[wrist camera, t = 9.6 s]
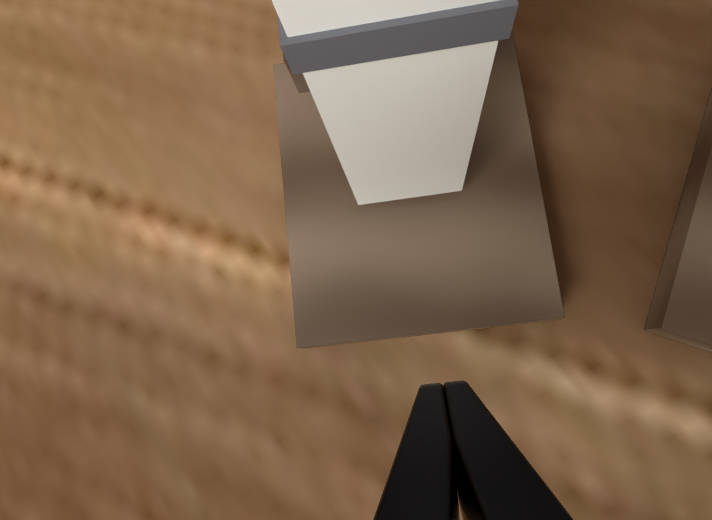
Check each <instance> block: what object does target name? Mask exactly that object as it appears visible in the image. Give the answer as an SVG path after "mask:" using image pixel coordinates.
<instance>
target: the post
mask: <svg viewBox="0 0 712 520" xmlns="http://www.w3.org/2000/svg"><path fill="white" fill-rule="evenodd" d="M272 2H273V4H274V6H275V9H276V11H277V14H278V26H279V37H280V47H281V49H282V51H283V53H284V55H285V58H286V60H287V62H288V64H289V66H290V68H291V71H292V73H293V75H294V74H300V73H303V75H304V78H305V80H306V82H307V85H308V87H309V89H310V92H311V94H312V97H313V99H314V101H315V104H316V106H317V108H318V111H319V113H320V115H321V118H322V120H323V123H324V125H325V127H326V130H327V132H328V134H329V137H330V139H331V142H332V144H333V146H334V149H335V151H336V153H337V156H338V158H339V161H340V163H341V165H342V168H343V170H344V172H345V175H346V177H347V179H348V182H349V184H350V187H351V189H352V191H353V194H354V196H355V198H356V201H357V203H358V205H363V204H370V203H377V202H385V201H392V200H399V199H406V198H413V197H421V196H428V195H435V194H442V193H449V192H457V191H462V188H463V184H464V180H465V176H466V172H467V168H468V164H469V159H470V155H471V151H472V147H473V143H474V139H475V135H476V131H477V127H478V122H479V118H480V114H481V110H482V106H483V102H484V98H485V94H486V90H487V86H488V81H489V77H490V73H491V69H492V65H493V61H494V57H495V53H496V49H497V44H498V40H504V39H509V38H510V34H511V31H512V27H513V24H514V20H515V16H516V13H517V9H518V6H519V4H518V0H272Z"/></svg>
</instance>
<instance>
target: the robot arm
mask: <svg viewBox="0 0 712 520" xmlns="http://www.w3.org/2000/svg"><path fill="white" fill-rule="evenodd" d="M457 492H458V494H457ZM458 498H459V503H460V508H461V512H462V516H463V520H573V518H572V517H571V516H570V515H569V513H568V512H567V511H566V509H565V508H564V507H563V506H562V504H561V503H560V502H559V500H558V499H557V498H556V497H555V495H554V494H553V493H552V491H551V490H550V489H549V487H548V486H547V485H546V484H545V482H544V481H543V480H542V478H541V477H540V476H539V475H538V473H537V472H536V471H535V469H534V468H533V467H532V466H531V464H530V463H529V462H528V460H527V459H526V458H525V457H524V455H523V454H522V453H521V451H520V450H519V449H518V448H517V446H516V445H515V444H514V442H513V441H512V440H511V438H510V437H509V436H508V435H507V433H506V432H505V431H504V429H503V428H502V427H501V426H500V424H499V423H498V422H497V420H496V419H495V418H494V417H493V415H492V414H491V413H490V411H489V410H488V409H487V408H486V406H485V405H484V404H483V402H482V401H481V400H480V399H479V397H478V396H477V395H476V393H475V392H474V391H473V389H472V388H471V387H470V386H469V384H468V383H467V382H465V381H454V382H446V383H445V384H444V385H442V384H440V383H434V384H424V385H421V386H420V388H419V390H418V393H417V396H416V399H415V402H414V404H413V407H412V410H411V413H410V416H409V419H408V422H407V425H406V427H405V430H404V433H403V436H402V439H401V442H400V445H399V448H398V450H397V453H396V456H395V459H394V462H393V465H392V468H391V471H390V473H389V476H388V479H387V482H386V485H385V488H384V491H383V494H382V496H381V499H380V502H379V505H378V508H377V511H376V514H375V517H374V519H373V520H459V504H458Z"/></svg>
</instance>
